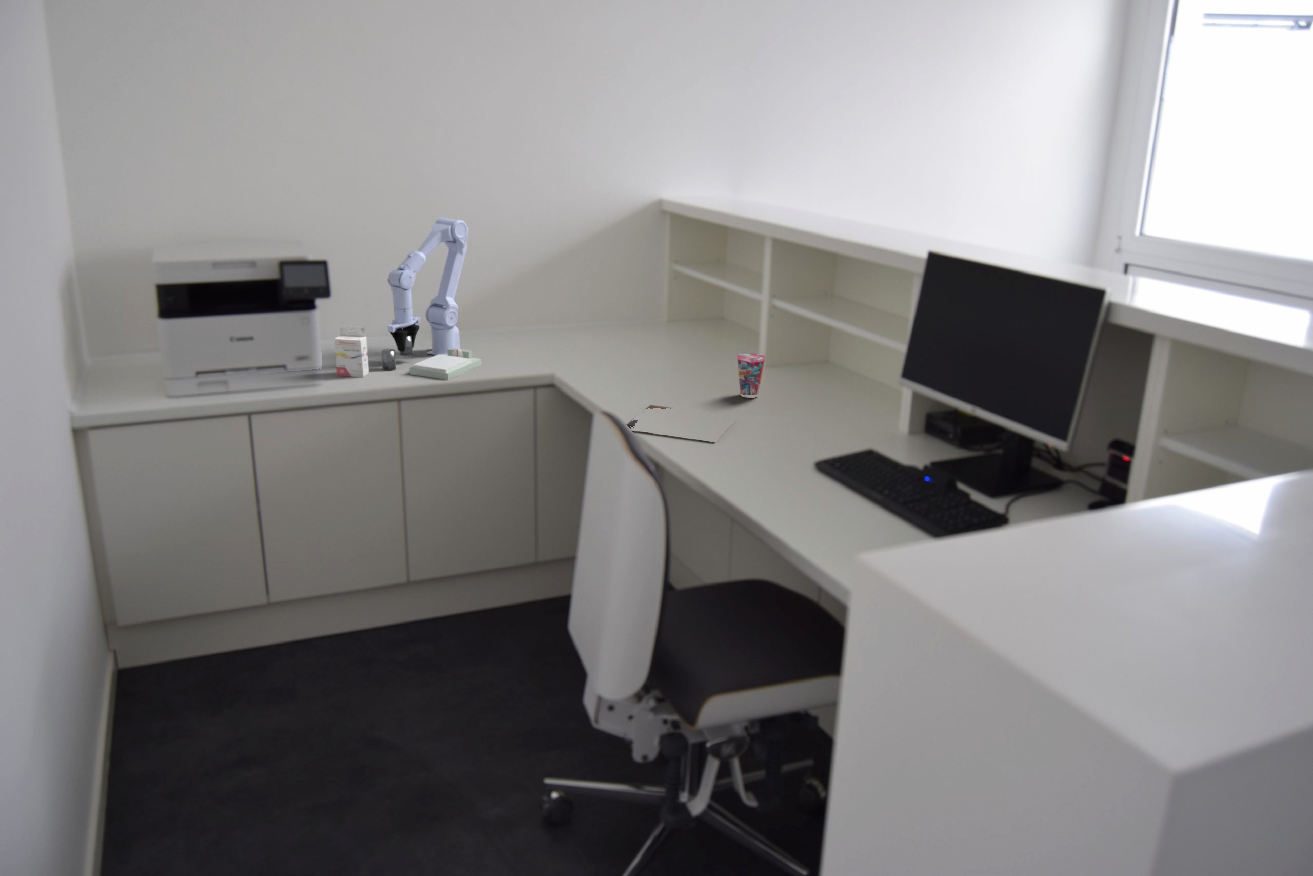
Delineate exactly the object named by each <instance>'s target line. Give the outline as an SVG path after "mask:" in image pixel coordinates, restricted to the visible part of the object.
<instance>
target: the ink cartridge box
mask: <svg viewBox="0 0 1313 876" xmlns="http://www.w3.org/2000/svg"><path fill="white" fill-rule="evenodd" d="M352 330H353V331H352ZM339 333H340V335H338V336H337V337H335V338H334V351H335V353H334V354H335V355H334V356H335V365H336V376H337V377H338V376H339V377H354V378H364V377H365V376H367V375H368V374H369V373H370V372H369V371H370V368H369V356H368V340H367V335H366V328H365V327H364V326H353V325H352V326H351V325H340V326H339Z"/></svg>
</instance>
